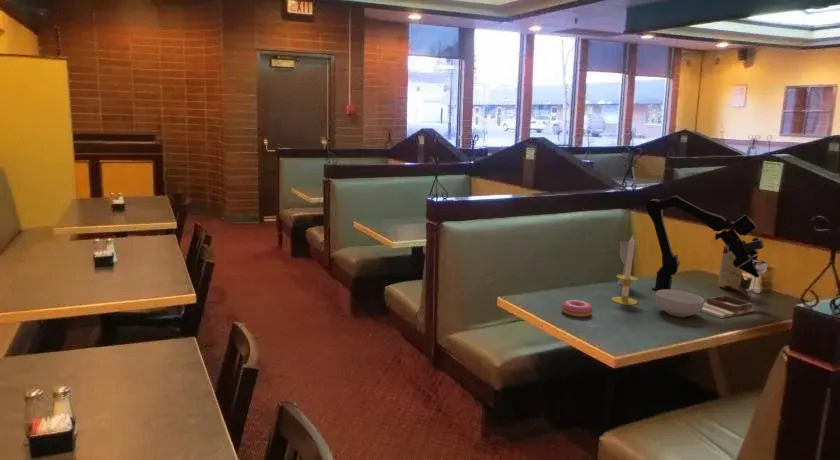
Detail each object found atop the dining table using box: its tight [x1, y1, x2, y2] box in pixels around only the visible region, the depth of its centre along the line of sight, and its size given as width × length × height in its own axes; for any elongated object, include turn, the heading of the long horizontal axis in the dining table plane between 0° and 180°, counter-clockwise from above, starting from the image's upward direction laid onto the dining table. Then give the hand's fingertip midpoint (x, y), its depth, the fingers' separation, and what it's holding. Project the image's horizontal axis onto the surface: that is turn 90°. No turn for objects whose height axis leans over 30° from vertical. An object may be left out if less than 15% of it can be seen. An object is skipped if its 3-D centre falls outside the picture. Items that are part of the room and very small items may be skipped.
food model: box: [717, 244, 744, 291], centre depth 275 cm, size 10×7×20 cm
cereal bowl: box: [655, 289, 705, 318], centre depth 236 cm, size 17×17×7 cm
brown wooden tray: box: [700, 294, 754, 319], centre depth 245 cm, size 21×13×3 cm, turn 123°
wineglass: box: [745, 259, 768, 294], centre depth 249 cm, size 7×7×12 cm
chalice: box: [617, 241, 638, 286], centre depth 273 cm, size 7×7×18 cm
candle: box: [610, 234, 639, 306], centre depth 246 cm, size 10×10×27 cm
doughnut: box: [561, 299, 593, 318], centre depth 230 cm, size 11×11×4 cm
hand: (759, 275), depth 248 cm, fingers closed on wineglass, 6 cm apart
